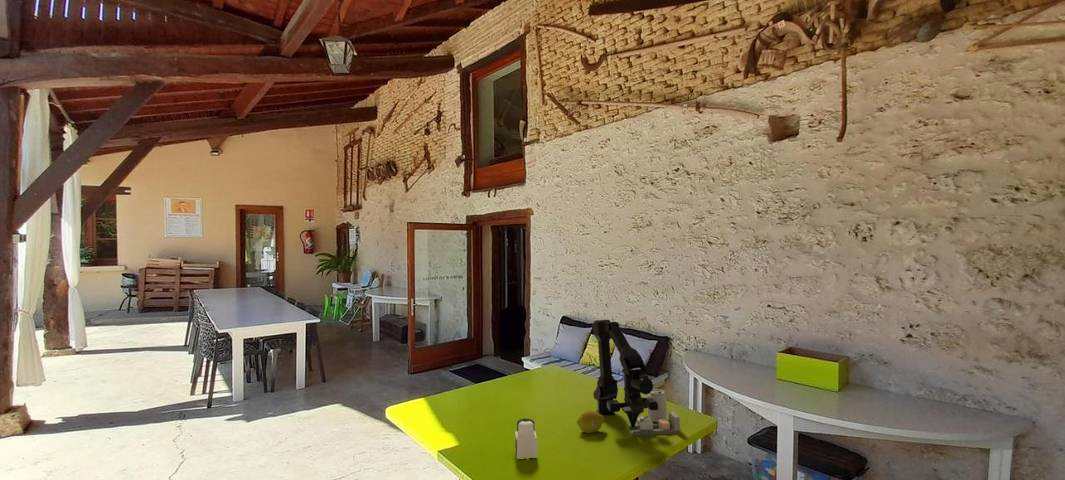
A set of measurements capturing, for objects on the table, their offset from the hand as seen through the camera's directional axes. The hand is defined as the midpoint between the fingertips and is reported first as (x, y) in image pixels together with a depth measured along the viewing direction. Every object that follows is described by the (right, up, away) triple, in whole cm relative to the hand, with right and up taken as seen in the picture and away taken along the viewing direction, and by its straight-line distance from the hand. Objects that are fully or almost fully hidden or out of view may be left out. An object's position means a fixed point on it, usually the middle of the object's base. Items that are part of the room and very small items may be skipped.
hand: (632, 427), depth 182 cm
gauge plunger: (+5, -1, 0) cm, 5 cm away
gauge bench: (+8, -2, +1) cm, 9 cm away
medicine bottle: (-41, -3, -17) cm, 44 cm away
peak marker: (+12, -2, +1) cm, 12 cm away
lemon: (-16, -3, +1) cm, 16 cm away
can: (+13, -2, +12) cm, 17 cm away
